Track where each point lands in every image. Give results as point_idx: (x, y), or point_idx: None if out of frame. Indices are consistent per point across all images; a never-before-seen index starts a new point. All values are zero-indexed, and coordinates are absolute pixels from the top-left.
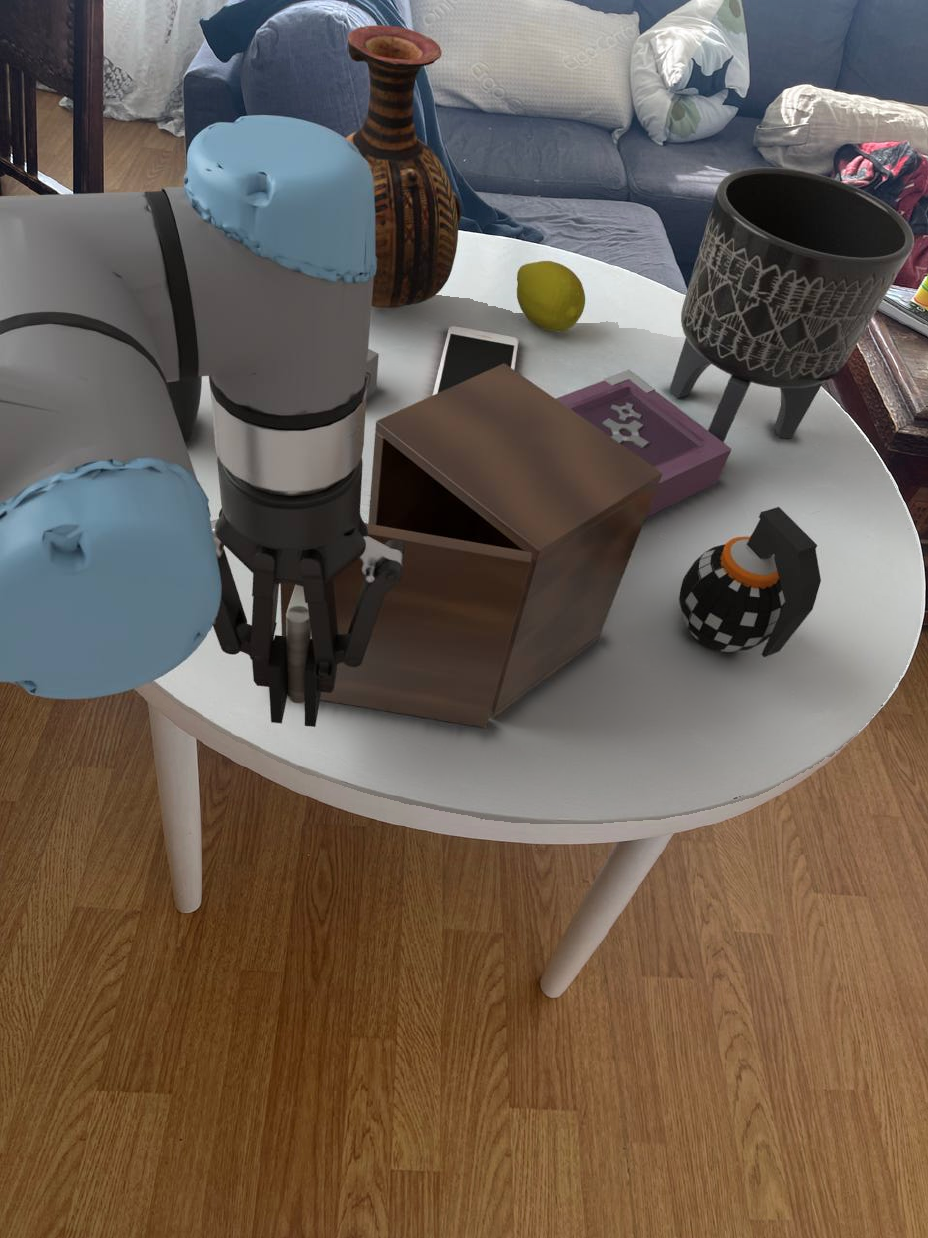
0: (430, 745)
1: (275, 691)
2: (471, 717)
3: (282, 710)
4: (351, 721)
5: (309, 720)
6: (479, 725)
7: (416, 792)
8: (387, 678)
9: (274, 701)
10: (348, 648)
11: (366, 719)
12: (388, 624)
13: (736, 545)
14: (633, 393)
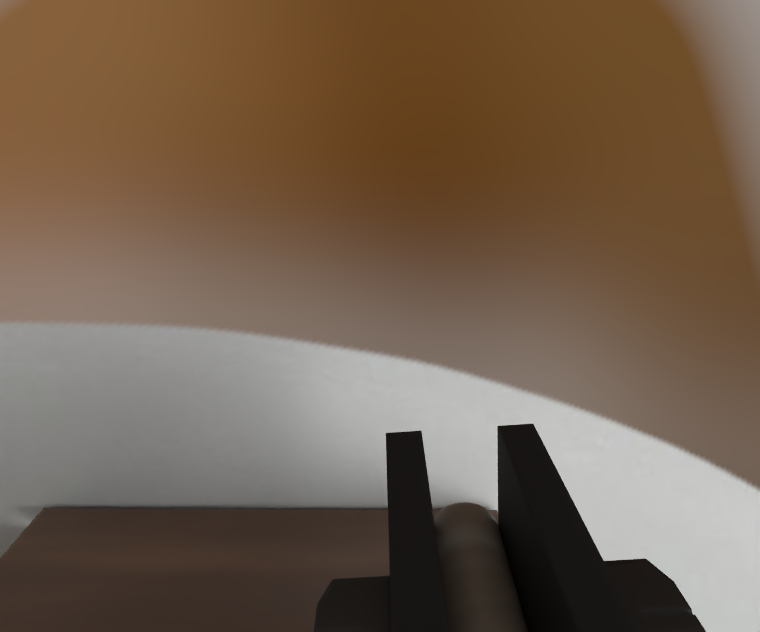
0: (152, 447)
1: (569, 551)
2: (64, 527)
3: (507, 470)
4: (336, 472)
5: (407, 450)
6: (55, 510)
7: (150, 331)
8: (246, 601)
9: (553, 501)
10: None
11: (305, 482)
12: None
13: None
14: None
